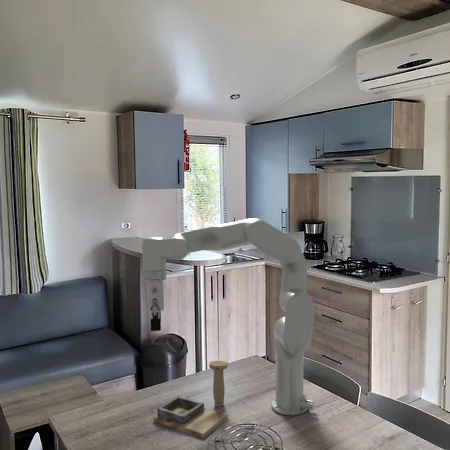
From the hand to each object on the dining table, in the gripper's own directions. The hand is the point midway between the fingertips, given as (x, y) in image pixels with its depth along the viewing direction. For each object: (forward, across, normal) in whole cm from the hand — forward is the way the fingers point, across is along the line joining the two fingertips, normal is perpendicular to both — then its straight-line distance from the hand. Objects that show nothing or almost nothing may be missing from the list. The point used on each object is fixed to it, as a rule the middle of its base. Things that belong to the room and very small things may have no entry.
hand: (156, 326), depth 154 cm
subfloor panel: (+31, -4, -10) cm, 33 cm away
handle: (+31, +6, -21) cm, 38 cm away
